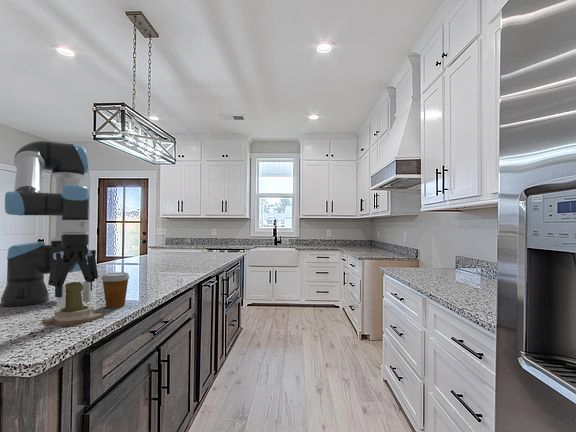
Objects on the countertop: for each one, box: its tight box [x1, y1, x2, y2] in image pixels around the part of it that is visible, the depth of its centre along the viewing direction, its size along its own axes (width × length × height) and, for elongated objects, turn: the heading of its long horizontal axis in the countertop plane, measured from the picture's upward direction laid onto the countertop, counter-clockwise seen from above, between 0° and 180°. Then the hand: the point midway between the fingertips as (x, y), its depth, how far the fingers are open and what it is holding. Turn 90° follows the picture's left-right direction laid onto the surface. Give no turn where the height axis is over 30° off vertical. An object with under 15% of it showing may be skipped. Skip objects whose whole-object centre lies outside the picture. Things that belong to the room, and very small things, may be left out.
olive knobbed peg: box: [63, 281, 84, 312], centre depth 112 cm, size 6×6×11 cm
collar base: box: [41, 304, 105, 328], centre depth 112 cm, size 12×12×4 cm
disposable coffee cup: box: [101, 271, 130, 309], centre depth 131 cm, size 10×10×12 cm
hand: (74, 304), depth 112 cm, fingers open, 8 cm apart
